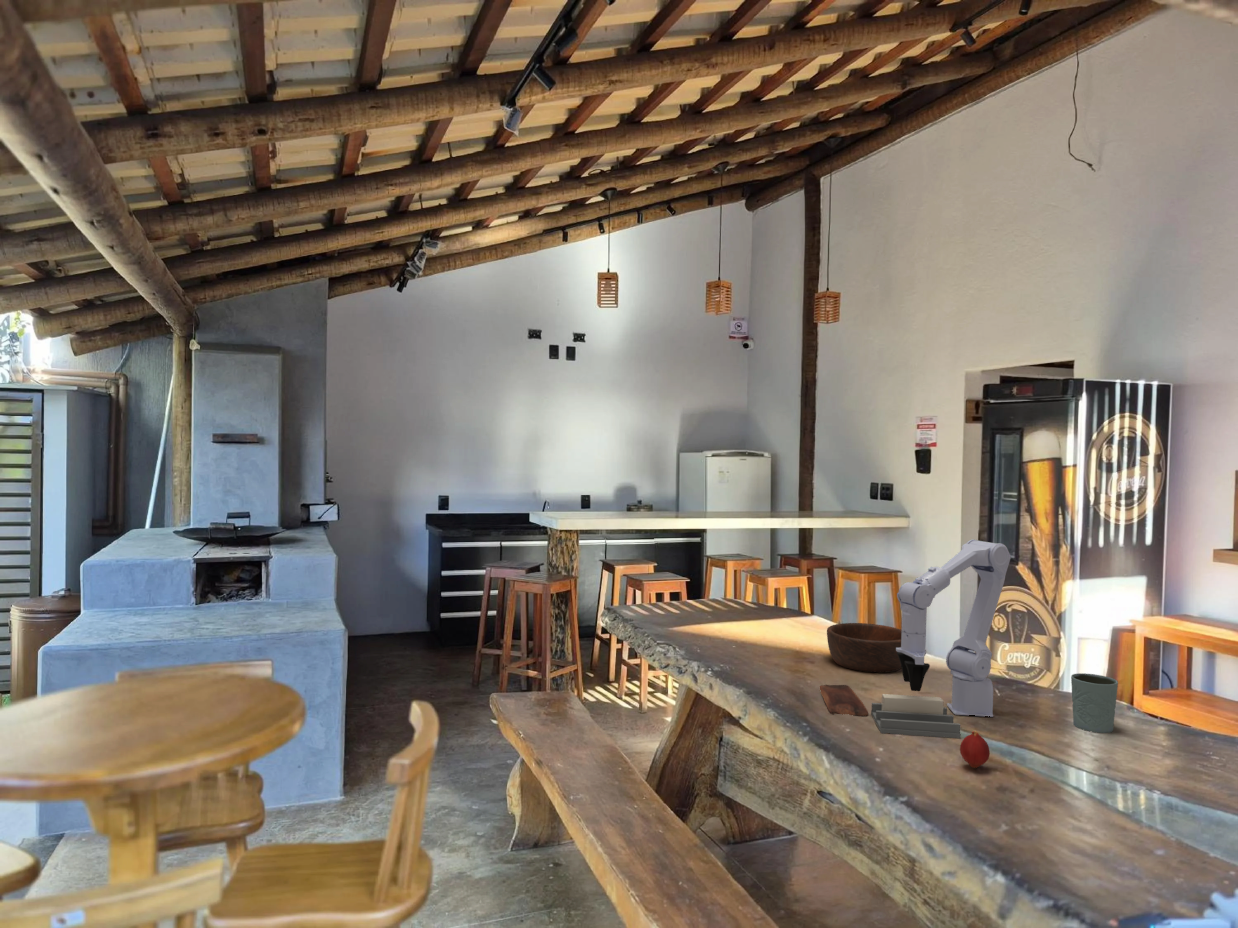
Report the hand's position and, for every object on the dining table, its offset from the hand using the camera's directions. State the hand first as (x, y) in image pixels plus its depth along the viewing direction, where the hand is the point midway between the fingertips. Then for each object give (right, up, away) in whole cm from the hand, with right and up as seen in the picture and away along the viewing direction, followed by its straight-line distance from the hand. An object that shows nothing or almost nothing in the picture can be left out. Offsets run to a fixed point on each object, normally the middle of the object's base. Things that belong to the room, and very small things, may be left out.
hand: (912, 685), depth 208 cm
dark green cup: (+44, -10, -2) cm, 45 cm away
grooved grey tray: (-1, -9, -4) cm, 9 cm away
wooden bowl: (+4, -7, +52) cm, 52 cm away
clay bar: (0, -8, -1) cm, 8 cm away
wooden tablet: (-13, -9, +16) cm, 22 cm away
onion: (+3, -10, -30) cm, 31 cm away
